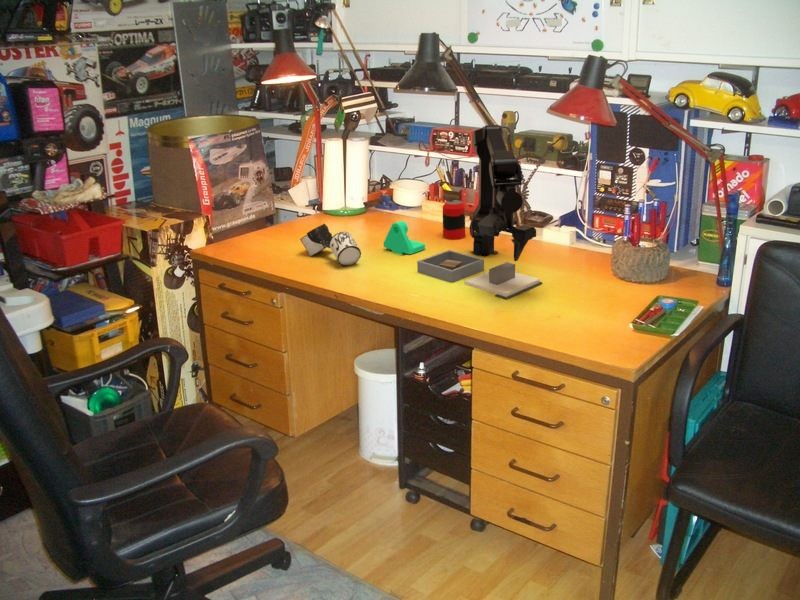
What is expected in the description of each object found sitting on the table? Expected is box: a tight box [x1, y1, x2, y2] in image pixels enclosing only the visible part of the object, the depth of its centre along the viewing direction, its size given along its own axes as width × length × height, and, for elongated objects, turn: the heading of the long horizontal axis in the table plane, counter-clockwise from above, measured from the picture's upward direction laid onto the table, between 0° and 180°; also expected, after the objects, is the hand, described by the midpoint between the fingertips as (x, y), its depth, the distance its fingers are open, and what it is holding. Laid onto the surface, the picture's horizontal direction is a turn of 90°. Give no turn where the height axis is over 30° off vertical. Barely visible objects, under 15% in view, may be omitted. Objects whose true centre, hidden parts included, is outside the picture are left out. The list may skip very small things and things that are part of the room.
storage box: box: [416, 249, 485, 284], centre depth 235 cm, size 14×14×4 cm
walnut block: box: [439, 260, 462, 270], centre depth 235 cm, size 5×5×2 cm
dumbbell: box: [299, 223, 362, 267], centre depth 250 cm, size 25×10×10 cm, turn 42°
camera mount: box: [383, 220, 426, 255], centre depth 255 cm, size 12×8×10 cm, turn 45°
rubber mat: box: [494, 281, 543, 301], centre depth 224 cm, size 16×16×1 cm
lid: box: [464, 262, 541, 297], centre depth 223 cm, size 15×15×5 cm
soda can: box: [442, 199, 466, 240], centre depth 267 cm, size 8×8×12 cm
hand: (502, 257), depth 221 cm, fingers open, 9 cm apart
